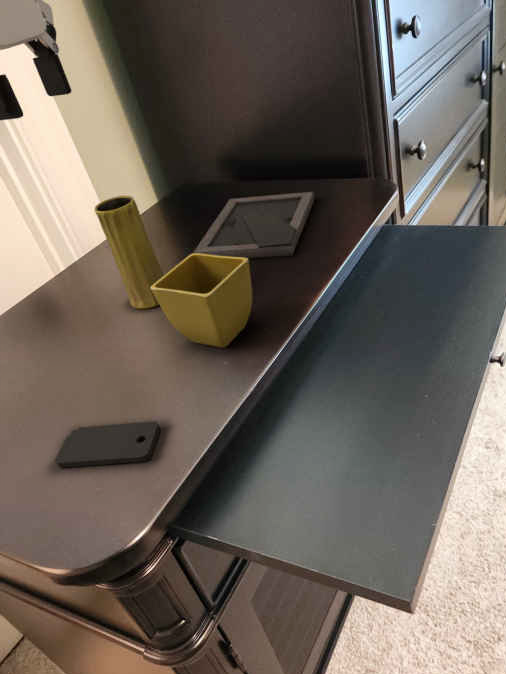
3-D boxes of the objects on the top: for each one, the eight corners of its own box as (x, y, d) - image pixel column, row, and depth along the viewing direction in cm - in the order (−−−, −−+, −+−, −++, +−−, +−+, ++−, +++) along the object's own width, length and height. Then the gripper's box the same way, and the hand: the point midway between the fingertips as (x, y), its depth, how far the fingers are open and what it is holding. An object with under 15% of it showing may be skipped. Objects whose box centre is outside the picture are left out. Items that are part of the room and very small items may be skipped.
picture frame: (292, 255, 80) (314, 200, 95) (290, 243, 79) (312, 189, 94) (196, 261, 84) (231, 207, 99) (192, 249, 83) (229, 196, 98)
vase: (179, 291, 78) (146, 195, 68) (151, 313, 74) (112, 215, 65) (151, 284, 80) (115, 192, 71) (122, 305, 77) (80, 211, 68)
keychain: (71, 428, 56) (159, 420, 55) (74, 432, 57) (161, 425, 56) (52, 463, 53) (146, 456, 51) (56, 467, 53) (149, 461, 52)
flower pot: (172, 349, 66) (147, 286, 60) (211, 312, 72) (191, 251, 66) (228, 361, 62) (208, 296, 56) (265, 321, 68) (250, 257, 62)
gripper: (-22, -90, 56) (51, 90, 67) (-157, -86, 44) (-40, 132, 55) (36, -105, 54) (102, 83, 65) (-89, -105, 42) (18, 126, 53)
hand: (37, 105), depth 60 cm, fingers open, 9 cm apart
